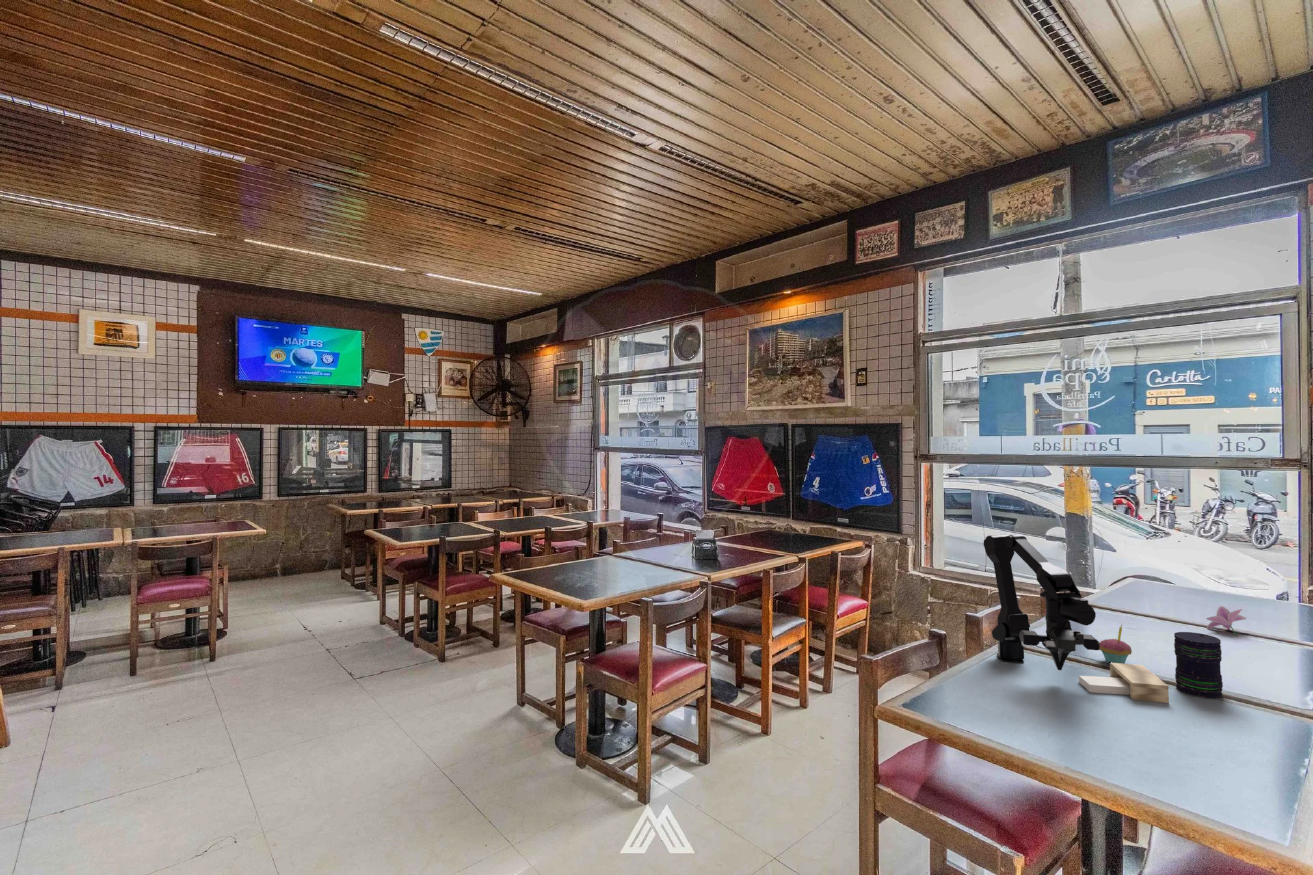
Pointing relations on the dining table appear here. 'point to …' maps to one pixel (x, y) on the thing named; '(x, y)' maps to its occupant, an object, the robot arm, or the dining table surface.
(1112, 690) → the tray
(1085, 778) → the dining table surface
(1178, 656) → the black disc stack
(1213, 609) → the dining table surface
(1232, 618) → the lily
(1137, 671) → the beige block
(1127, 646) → the cupcake
